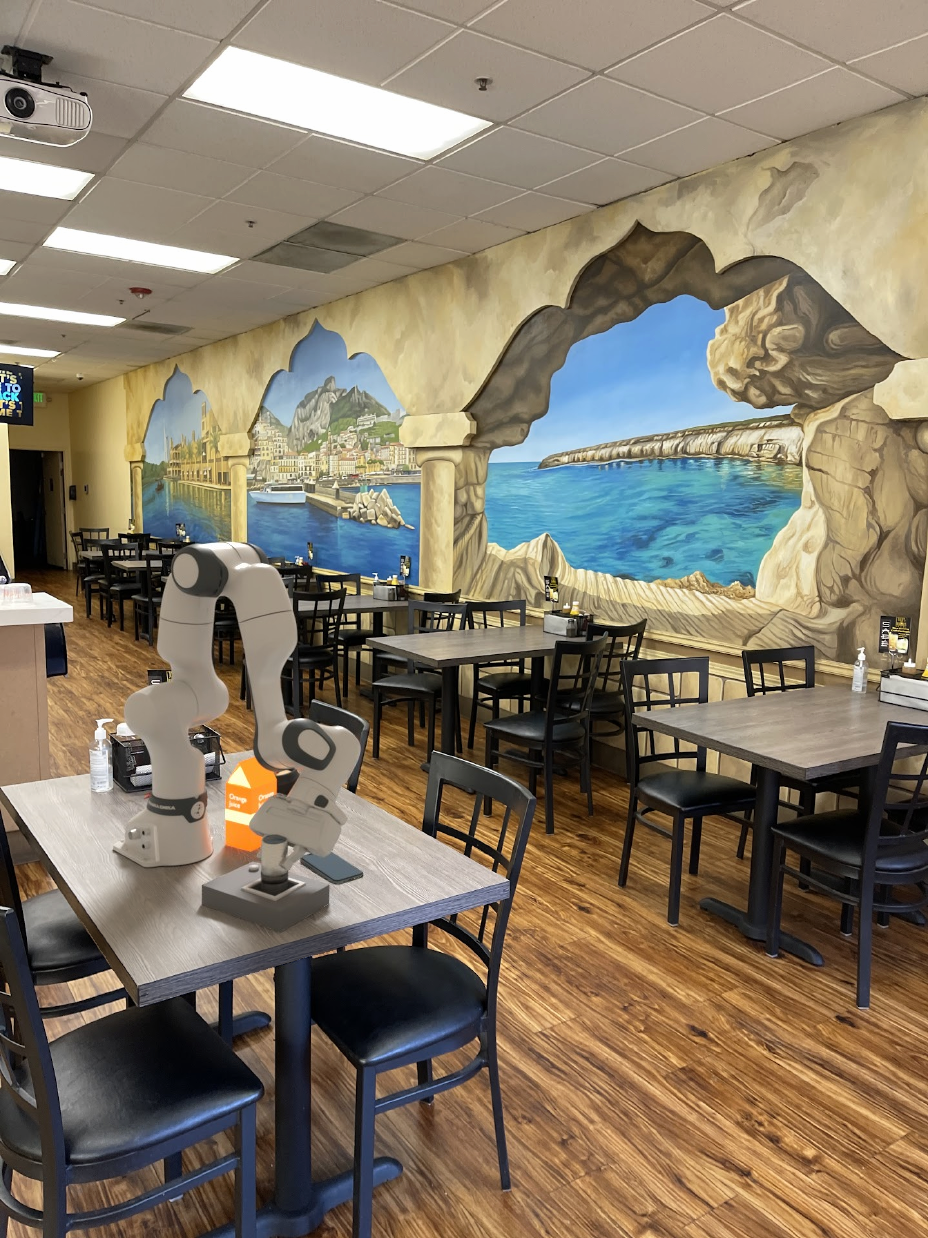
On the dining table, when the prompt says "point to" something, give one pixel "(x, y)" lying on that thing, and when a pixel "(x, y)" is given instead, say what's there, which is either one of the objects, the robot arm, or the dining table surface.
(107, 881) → the dining table surface
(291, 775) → the casserole
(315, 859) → the smartphone
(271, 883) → the lens
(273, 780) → the orange juice
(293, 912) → the grey socket base
